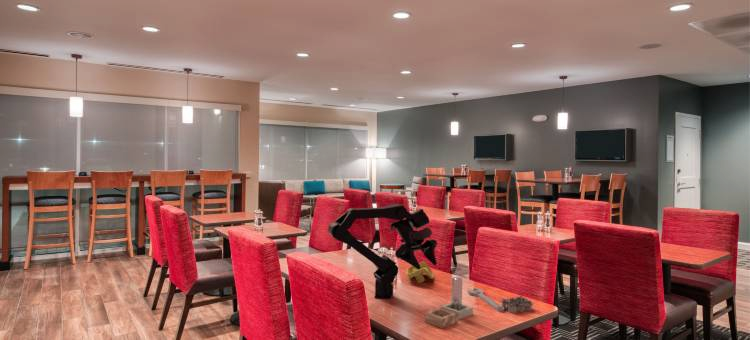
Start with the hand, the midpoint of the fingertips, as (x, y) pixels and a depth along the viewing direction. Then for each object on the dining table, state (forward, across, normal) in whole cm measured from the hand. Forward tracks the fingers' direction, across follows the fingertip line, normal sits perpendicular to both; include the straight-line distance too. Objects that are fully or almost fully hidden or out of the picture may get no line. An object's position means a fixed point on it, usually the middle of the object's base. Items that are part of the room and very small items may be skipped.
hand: (428, 266), depth 172 cm
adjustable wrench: (+19, +19, +2) cm, 27 cm away
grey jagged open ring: (+28, +20, -8) cm, 35 cm away
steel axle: (+20, -1, -1) cm, 20 cm away
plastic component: (-7, +22, +27) cm, 36 cm away
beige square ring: (+21, -12, -2) cm, 24 cm away
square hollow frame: (+20, -1, -1) cm, 20 cm away
